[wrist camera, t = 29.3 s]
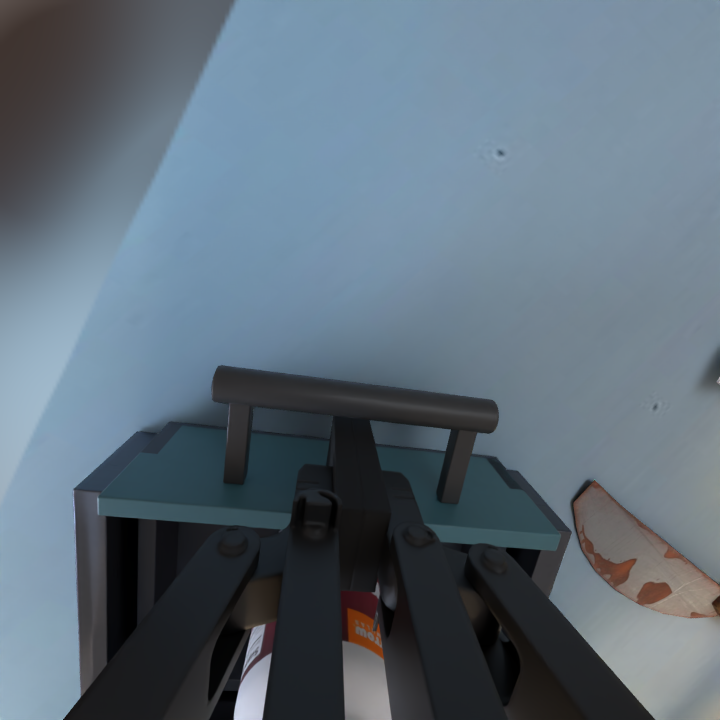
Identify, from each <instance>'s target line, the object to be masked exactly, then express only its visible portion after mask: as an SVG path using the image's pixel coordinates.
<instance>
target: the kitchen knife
mask: <svg viewBox="0 0 720 720" xmlns="http://www.w3.org/2000/svg"><path fill="white" fill-rule="evenodd" d="M573 506H574V514H575V522H576V529H577V533H578V536H579V540H580V544H581V548H582V550H583V552H584V554H585V555H586V557H587V558H588V560H589V561H590V563H591V565H592V566H593V568H594V569H595V571H596V572H597V573H598V574H599V575H600V576H601V577H602V578H604V579H605V580H606V581H607V582H608V583H609V584H610V585H611V586H612V587H613V588H614V589H615V590H617V591H618V592H620V593H622V594H623V595H625V596H626V597H628V598H630V599H631V600H633V601H634V602H636V603H638V604H640V605H642V606H645V607H647V608H650V609H653V610H655V611H658V612H660V613H663V614H668V615H673V616H679V617H685V618H702V617H714V616H717V615H719V616H720V585H718V584H717V583H716V582H715V581H713V580H712V579H711V578H710V577H708V576H707V575H706V574H705V573H704V572H702V571H701V570H700V569H699V568H697V567H696V566H695V565H694V564H692V563H691V562H690V561H689V560H688V559H686V558H685V557H684V556H683V555H681V554H680V553H679V552H678V551H676V550H675V549H674V548H673V547H672V546H670V545H669V544H668V543H667V542H665V541H664V540H663V539H662V538H660V537H659V536H658V535H657V534H656V533H654V532H653V531H652V530H651V529H649V528H648V527H647V526H646V525H644V524H643V523H642V522H641V521H640V520H638V519H637V518H636V517H635V516H633V515H632V514H631V513H630V512H628V511H627V510H626V509H625V508H624V507H622V506H621V505H620V504H619V503H618V502H617V501H616V500H615V499H614V498H613V497H612V496H611V495H610V494H609V493H607V492H606V491H605V490H604V489H603V488H602V487H601V486H600V485H599V484H598V483H597V482H596V481H595V480H594V481H593V482H592V483H591V484H590V485H589V486H588V487H587V489H586V490H585V491H584V492H583V493H582V494H581V495H580V496H579V497H578V498H577V499H576V500H575V501H574V503H573Z"/></svg>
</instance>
